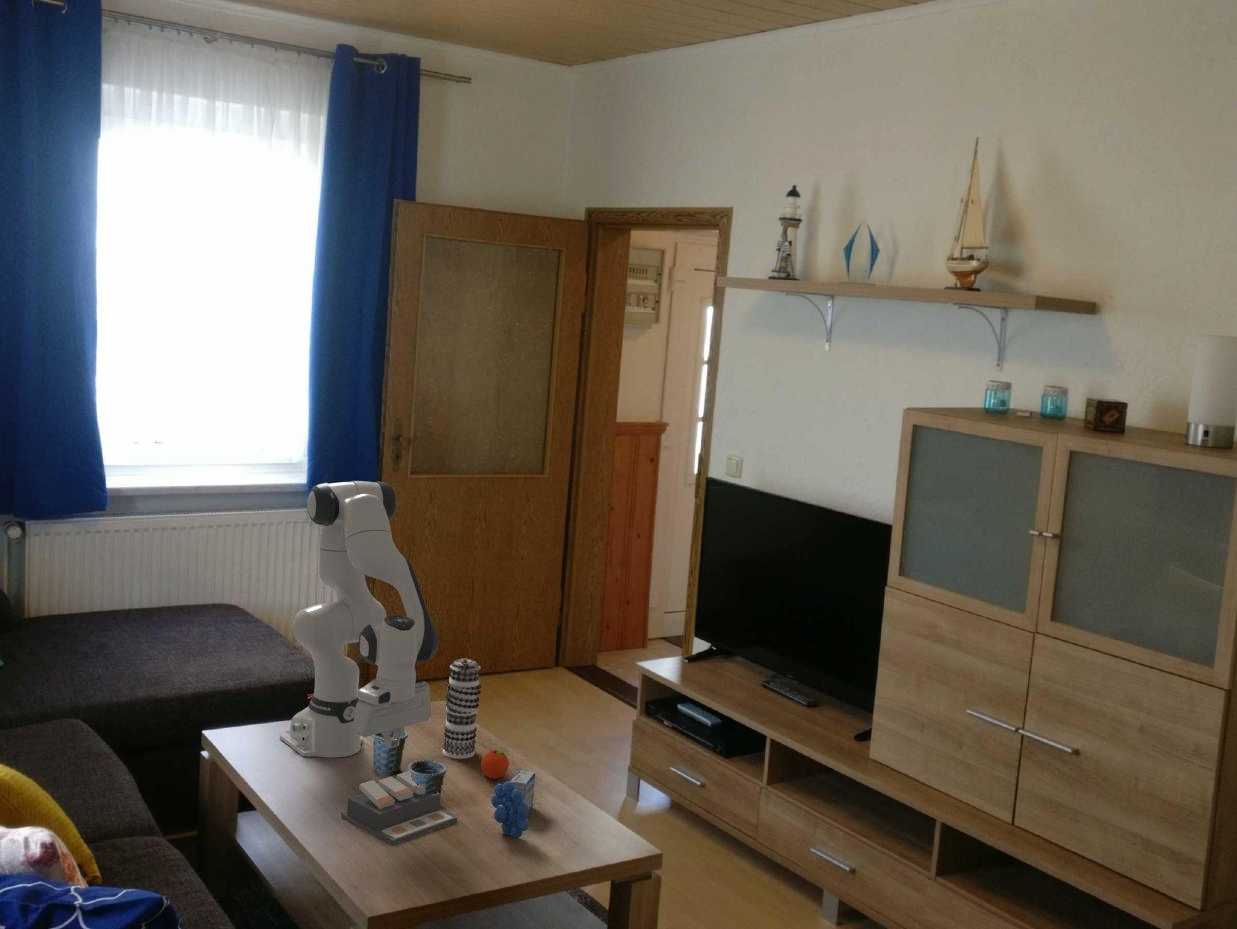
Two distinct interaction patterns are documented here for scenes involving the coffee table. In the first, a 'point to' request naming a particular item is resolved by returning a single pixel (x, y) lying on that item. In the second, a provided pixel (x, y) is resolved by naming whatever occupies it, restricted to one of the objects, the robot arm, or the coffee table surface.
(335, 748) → the robot arm
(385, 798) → the block
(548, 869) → the coffee table surface
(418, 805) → the switch unit
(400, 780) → the rocker
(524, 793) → the medicine box
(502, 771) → the tomato
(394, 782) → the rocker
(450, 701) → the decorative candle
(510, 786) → the grapes
